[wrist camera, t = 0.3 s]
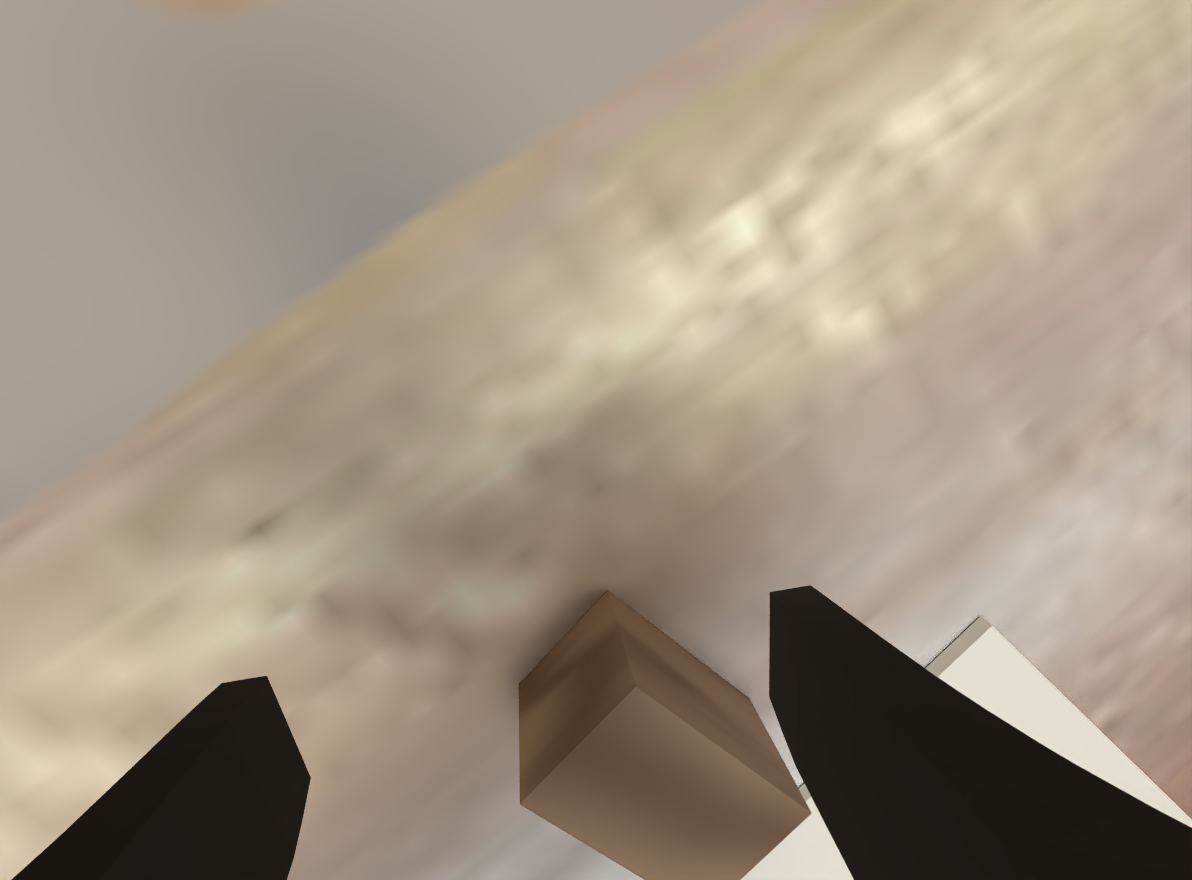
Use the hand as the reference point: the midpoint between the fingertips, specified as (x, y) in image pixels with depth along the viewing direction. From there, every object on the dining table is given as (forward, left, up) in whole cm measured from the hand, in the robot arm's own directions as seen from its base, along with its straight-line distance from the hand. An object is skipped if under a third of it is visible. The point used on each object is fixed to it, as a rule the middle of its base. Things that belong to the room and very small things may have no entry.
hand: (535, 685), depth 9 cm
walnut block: (-4, -8, -10) cm, 14 cm away
